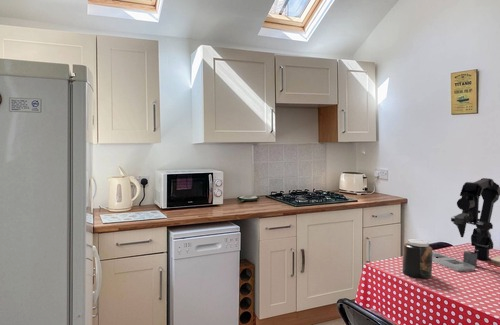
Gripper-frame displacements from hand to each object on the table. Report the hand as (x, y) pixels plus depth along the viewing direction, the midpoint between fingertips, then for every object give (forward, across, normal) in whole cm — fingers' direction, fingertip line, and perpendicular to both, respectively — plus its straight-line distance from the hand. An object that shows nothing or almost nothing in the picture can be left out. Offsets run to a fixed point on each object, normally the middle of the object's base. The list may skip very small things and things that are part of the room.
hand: (470, 239), depth 176 cm
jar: (+12, +6, -37) cm, 39 cm away
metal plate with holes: (+12, -4, -10) cm, 16 cm away
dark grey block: (+12, 0, 0) cm, 12 cm away
